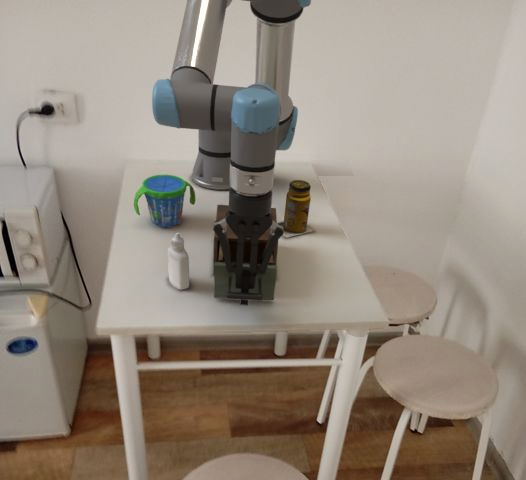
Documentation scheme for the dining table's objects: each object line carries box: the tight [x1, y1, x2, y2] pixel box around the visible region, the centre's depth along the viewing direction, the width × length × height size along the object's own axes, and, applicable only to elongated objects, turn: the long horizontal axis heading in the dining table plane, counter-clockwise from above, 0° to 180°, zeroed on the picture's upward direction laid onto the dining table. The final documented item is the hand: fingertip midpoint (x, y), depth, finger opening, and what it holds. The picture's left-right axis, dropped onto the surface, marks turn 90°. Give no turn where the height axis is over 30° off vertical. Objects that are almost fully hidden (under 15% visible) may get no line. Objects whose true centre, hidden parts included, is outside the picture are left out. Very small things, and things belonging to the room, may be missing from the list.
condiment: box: [277, 179, 314, 238], centre depth 139 cm, size 7×8×12 cm
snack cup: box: [133, 174, 196, 228], centre depth 137 cm, size 16×10×10 cm
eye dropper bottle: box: [167, 231, 190, 291], centre depth 116 cm, size 4×6×12 cm
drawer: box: [213, 241, 278, 302], centre depth 116 cm, size 21×12×8 cm, turn 1°
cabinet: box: [213, 204, 279, 277], centre depth 126 cm, size 16×14×10 cm
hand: (244, 300), depth 111 cm, fingers closed
